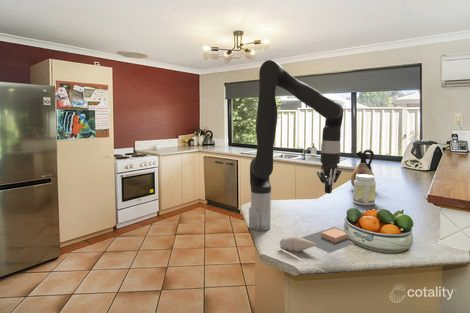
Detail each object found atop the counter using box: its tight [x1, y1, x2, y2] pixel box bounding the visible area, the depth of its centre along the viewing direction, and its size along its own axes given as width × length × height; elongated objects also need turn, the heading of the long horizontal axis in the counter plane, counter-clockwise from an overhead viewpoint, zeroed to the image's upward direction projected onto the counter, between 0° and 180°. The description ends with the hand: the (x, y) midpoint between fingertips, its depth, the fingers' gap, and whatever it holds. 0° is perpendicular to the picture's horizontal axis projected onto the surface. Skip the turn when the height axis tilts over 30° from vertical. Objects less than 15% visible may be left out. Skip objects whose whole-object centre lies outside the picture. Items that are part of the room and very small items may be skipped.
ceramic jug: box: [350, 149, 376, 187], centre depth 206 cm, size 17×15×30 cm
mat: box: [300, 226, 355, 254], centre depth 123 cm, size 24×16×1 cm, turn 124°
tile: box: [321, 227, 348, 243], centre depth 123 cm, size 2×7×9 cm
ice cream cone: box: [279, 235, 318, 253], centre depth 111 cm, size 6×6×15 cm
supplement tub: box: [352, 174, 377, 206], centre depth 177 cm, size 12×12×17 cm
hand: (328, 193), depth 122 cm, fingers closed
